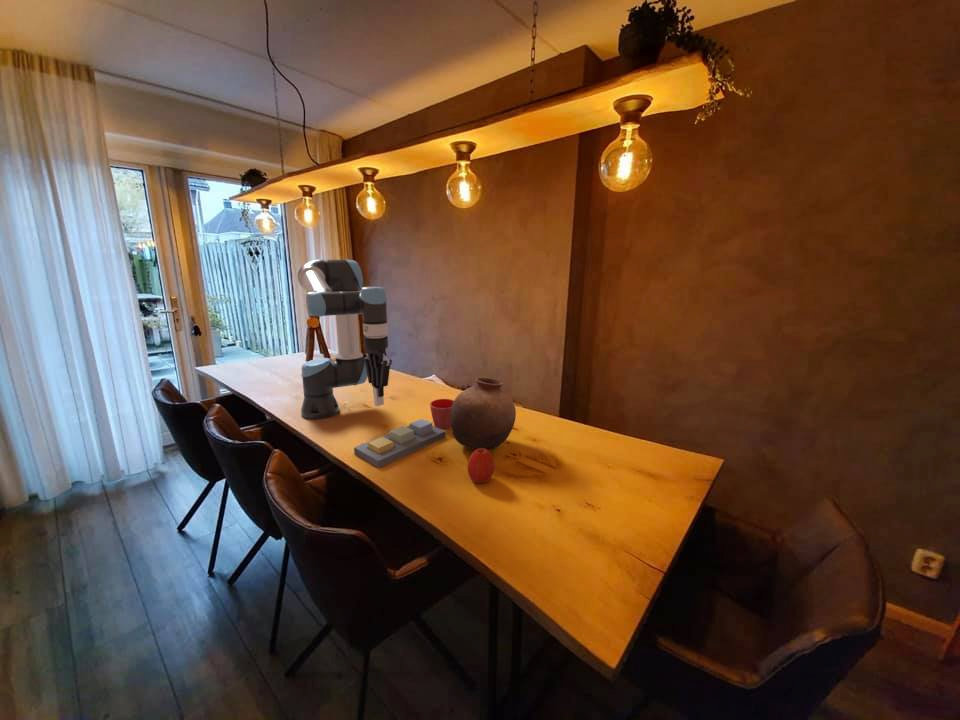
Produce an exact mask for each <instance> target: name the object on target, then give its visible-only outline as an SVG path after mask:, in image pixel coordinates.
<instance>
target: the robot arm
mask: <svg viewBox="0 0 960 720" xmlns="http://www.w3.org/2000/svg"><path fill="white" fill-rule="evenodd" d="M362 273H363V272H362V268H361V266H360V265H359V263H358V262H357V261H356V260H353V259H321V258H320V259H318V258H317V259H314V260H311V261H308V262H306V263H304V264H303V265H302V266H301V267H300V268H299V270H298V272H297V281H298V283H299V285H300V286H301V288H302V289H304V290H305V291H306V294H305V305H306V311H307V315H309V316H311V317H327V316H329V317H330V316H335V321H336V333H337V334H336V335H337V349H338V352H337V354H336V355H335V360H333V361H332V360H331V359H330V358H328V357H319V358H315V359H311V360H308V361H306V362H304V363H303V364H302V365H301V377H302V379H301V380H302V388H303V389H302V390H303V401H302V405H301V408H300V412H301V417H303V418H305V419H309V420H321V419H325V418H330V417H332V416H336V415H337V414H338V413H339V412H340V406H339V404H338V401H337V399H336V396H335V394H334V389H337V388H344V387H350V386H359V385H362V384H364V383H365V382H366V381H367V380H368V383H369V384H371V386H372V389H373V391H372V393H373V403H374V406H375V407H380V406H383V405H385V400H384V397H385V393H384V391H385V390H384V387H387V386H389V380H390V379H389V378H390V369H391V365H392V362H393V361H392V359H389V358H388V357H387V356H388V355H387V352H386V349H387V348H388V347H389V338H388V336H387V335H388V333H389V332H388V331H389V330H388V313H387V311H388V310H387V308H388V307H387V301H388V298H387V293H386V292H387V291H386V289H385V287H382V286H364V277H363V274H362ZM358 315H362V330H363V331H362V332H363V336H364V337H363V347H364V349H365V350H366V353H364V354H363V353H362V352H361V351H360V345H359V344H360V342H359V326H358V325H359V324H358Z"/></svg>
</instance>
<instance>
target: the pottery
mask: <svg viewBox="0 0 960 720" xmlns="http://www.w3.org/2000/svg"><path fill="white" fill-rule="evenodd" d="M475 382H476V385H474V386H470V387H468V388H466V389H465V390H463V391H461V392H460V393H458V395H457V396H456V397H455V399H453V400H454V403H453V405H452V409H451V416H450V424H451V428H450V429H451V432H452V435H453V437H454V439H455V441H456V442H457V443H458V444H460V445H462V446H464V447H466V448H468V449H471V450H474V451H475V450H476V449H479V448H484V449H486V450H488V451H492V450H495V449H497V448H498V447H500V446H501V445H502V444H505V442H506V441H507V439H508V438H509V436H510V435H511V433H512V431H513V428H514V425H515V422H516V416H517V414H516V412H517V411H516V406H515V403H514V402H513V400H512V398H511V397H510V396H509V395H508V394H507V393H506V392H505V391H503V390H502V388H501V387H502V386H503V385H504V382H503V381H501V380H498V379H495V378H490V377H476V378H475Z"/></svg>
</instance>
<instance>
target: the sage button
mask: <svg viewBox="0 0 960 720" xmlns="http://www.w3.org/2000/svg"><path fill="white" fill-rule="evenodd" d="M389 433H390V440H391V441H393V442H395V443H397V444H399V445H402V444H404V443H407V442H409V441H411V440H414V430H411V429H409V428H407V426H404V425H402V426H399V427H396V428H394V429H391V430H389Z"/></svg>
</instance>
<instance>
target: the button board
mask: <svg viewBox="0 0 960 720" xmlns="http://www.w3.org/2000/svg"><path fill="white" fill-rule="evenodd" d="M406 427H407V428H409V429H410V425H407V426H406ZM446 432H447V431H446V430H445V429H439V428H437V427H435V426H434V425H432V432H430V433H427V434H425V435H423V436H418V435H415V434H414V440H411V441H409V442H407V443H404V444H402V445H399V444H397V443H395V442H393V443H394V448H393V449H390V450H388V451H386V452H383V453H381V454H377V453H375V452H373V451H371V450H369V449H368V442H371V441H373V440H376V439H379V438H381V437H384V438H386V439H388V440H390V432H389V433H387V434H384V435H382V436H378V437H377V438H374V439H372V440H369V441H367V442H365V443H361V444H359V445H356V446H354V447H353V452H354V453H353V454H354V455H355V456H358V457H359V458H361V459H363V460H364V461H365V462H368V463H369V464H371V465H373V466H375V467H377V468H378V469H380V468H382V467H385V466H386V465H389V464H392V463H393V462H395V461H397V460H399V459H401V458H403V457H405V456H406V457H407V456H409V455H410V454H412V453H415V452H417V451H419V450H421V449H423V448H426V447H428V446H430V445H432V444H434V443H436V442H439V441H440V440H443V439H445V438H446V437H447V436H446V435H447V434H446ZM390 441H391V440H390Z"/></svg>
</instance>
